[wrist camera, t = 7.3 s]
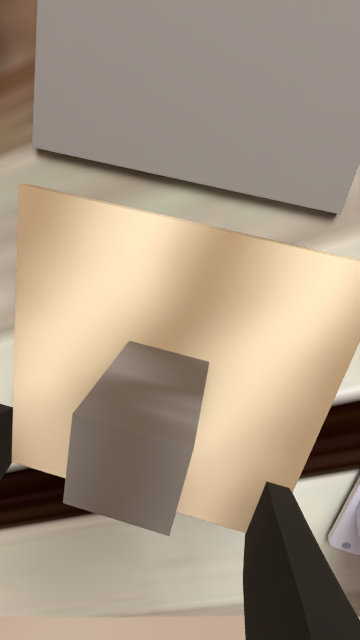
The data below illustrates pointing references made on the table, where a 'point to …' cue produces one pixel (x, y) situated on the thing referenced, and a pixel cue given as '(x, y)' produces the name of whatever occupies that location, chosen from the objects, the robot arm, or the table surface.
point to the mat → (206, 92)
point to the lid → (171, 358)
